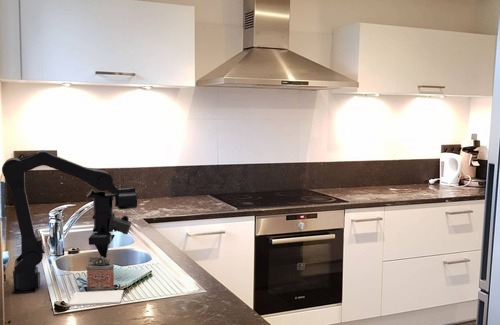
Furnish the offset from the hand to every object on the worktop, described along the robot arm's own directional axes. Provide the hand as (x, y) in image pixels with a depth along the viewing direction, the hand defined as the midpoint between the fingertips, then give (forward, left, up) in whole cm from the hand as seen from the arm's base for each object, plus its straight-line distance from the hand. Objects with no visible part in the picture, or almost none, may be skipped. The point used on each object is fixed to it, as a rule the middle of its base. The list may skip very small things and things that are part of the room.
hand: (104, 259), depth 154 cm
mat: (0, -16, -6) cm, 18 cm away
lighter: (0, -9, -7) cm, 11 cm away
